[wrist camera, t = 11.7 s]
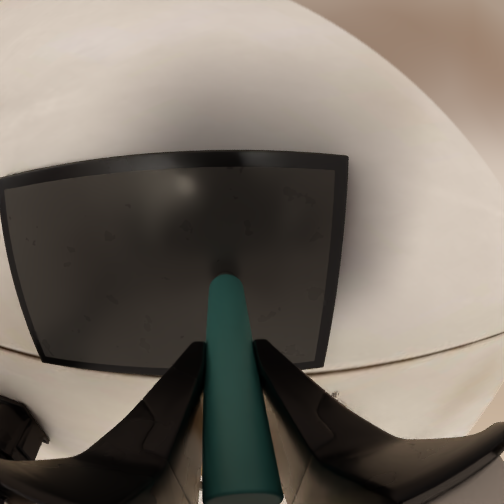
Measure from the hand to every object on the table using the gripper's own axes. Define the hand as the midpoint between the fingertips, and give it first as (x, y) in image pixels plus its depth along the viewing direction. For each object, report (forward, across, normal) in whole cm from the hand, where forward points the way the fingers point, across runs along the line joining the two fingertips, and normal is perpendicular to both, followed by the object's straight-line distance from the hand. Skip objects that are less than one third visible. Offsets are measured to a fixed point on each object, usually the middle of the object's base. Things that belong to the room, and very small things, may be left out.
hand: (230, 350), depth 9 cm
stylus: (+6, 0, 0) cm, 6 cm away
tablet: (+7, +4, 0) cm, 8 cm away
